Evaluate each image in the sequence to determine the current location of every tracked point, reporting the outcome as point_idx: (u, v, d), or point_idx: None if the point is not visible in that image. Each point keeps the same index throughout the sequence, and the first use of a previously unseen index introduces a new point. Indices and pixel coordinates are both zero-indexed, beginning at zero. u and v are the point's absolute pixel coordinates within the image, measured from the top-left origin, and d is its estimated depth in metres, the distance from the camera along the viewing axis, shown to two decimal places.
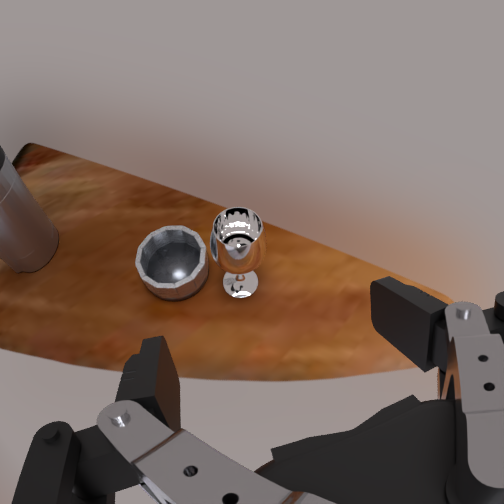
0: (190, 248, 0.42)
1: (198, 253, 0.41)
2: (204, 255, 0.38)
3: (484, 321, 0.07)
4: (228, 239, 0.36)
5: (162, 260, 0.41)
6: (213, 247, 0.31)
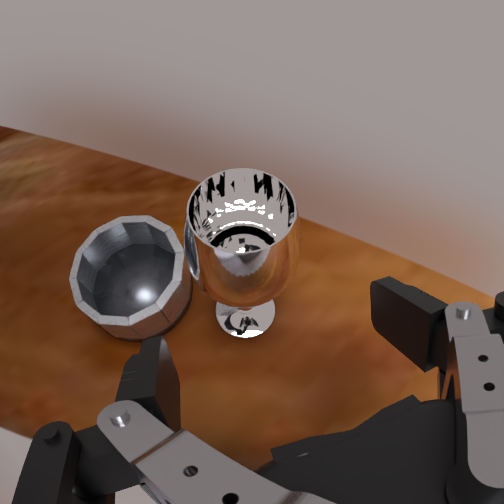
0: (162, 253, 0.25)
1: (175, 261, 0.25)
2: (181, 266, 0.21)
3: (484, 321, 0.07)
4: (223, 237, 0.19)
5: (118, 272, 0.24)
6: (189, 253, 0.14)
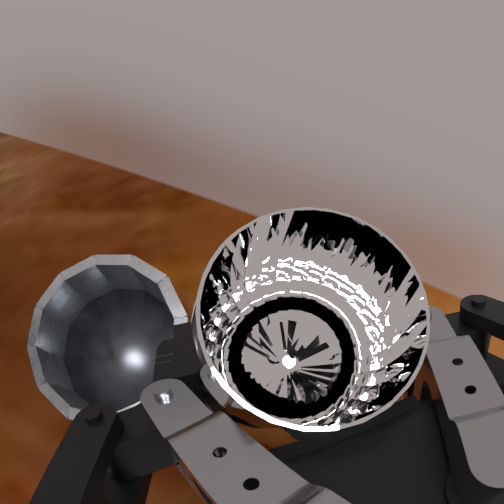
0: (155, 304, 0.17)
1: (173, 318, 0.17)
2: None
3: (443, 326, 0.07)
4: (253, 310, 0.11)
5: (95, 331, 0.16)
6: (203, 388, 0.07)
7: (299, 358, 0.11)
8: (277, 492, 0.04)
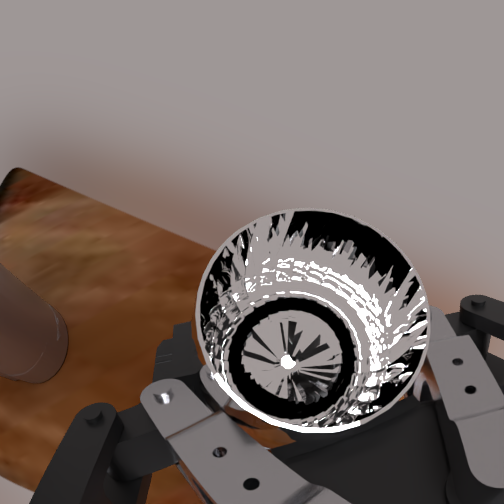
0: None
1: None
2: None
3: (443, 326, 0.07)
4: (253, 311, 0.11)
5: None
6: (203, 389, 0.07)
7: (299, 359, 0.11)
8: (277, 492, 0.04)
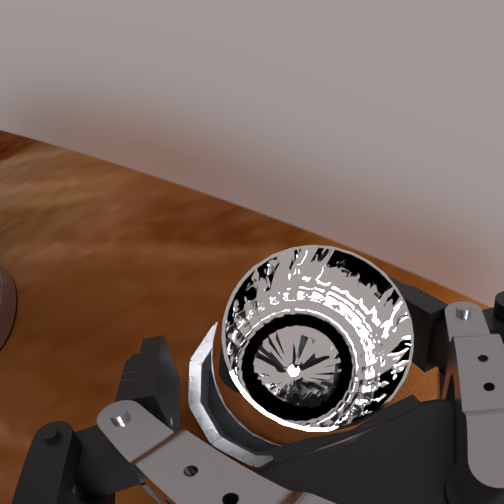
0: None
1: None
2: None
3: (484, 321, 0.07)
4: (262, 325, 0.12)
5: None
6: (224, 397, 0.08)
7: (303, 367, 0.12)
8: None
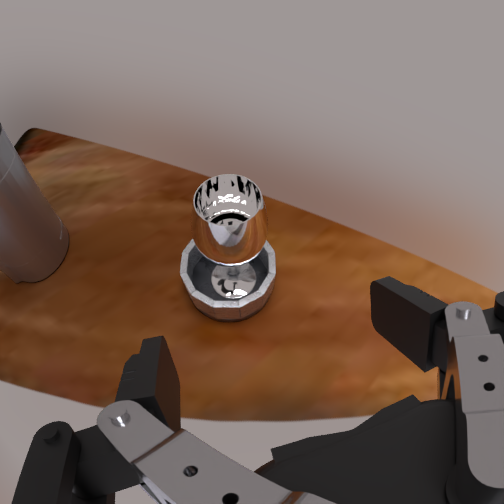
0: None
1: (259, 259, 0.33)
2: (274, 263, 0.29)
3: (484, 321, 0.07)
4: (217, 221, 0.27)
5: (212, 268, 0.32)
6: (194, 228, 0.22)
7: None
8: None
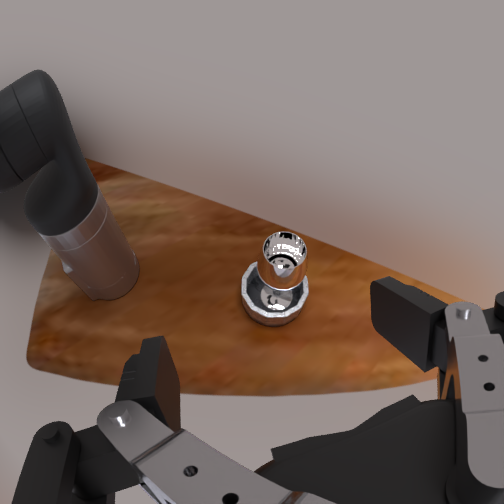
0: None
1: None
2: (307, 285, 0.42)
3: (484, 321, 0.07)
4: (270, 258, 0.39)
5: (260, 288, 0.45)
6: (262, 268, 0.35)
7: None
8: None
